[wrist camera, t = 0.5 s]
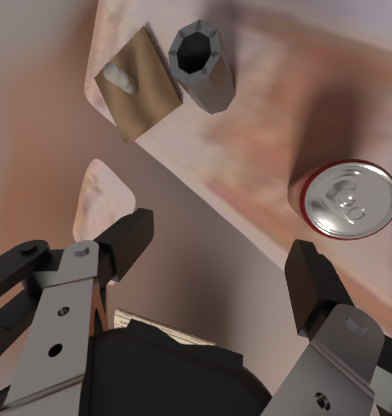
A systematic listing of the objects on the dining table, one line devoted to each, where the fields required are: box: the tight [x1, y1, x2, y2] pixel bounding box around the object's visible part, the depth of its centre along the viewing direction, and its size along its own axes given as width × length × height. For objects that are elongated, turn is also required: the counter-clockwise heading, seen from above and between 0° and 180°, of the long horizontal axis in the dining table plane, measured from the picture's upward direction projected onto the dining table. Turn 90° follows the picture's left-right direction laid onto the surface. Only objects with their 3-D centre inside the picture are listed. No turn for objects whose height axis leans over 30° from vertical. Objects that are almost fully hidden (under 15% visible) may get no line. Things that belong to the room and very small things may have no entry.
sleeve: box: [168, 20, 235, 114], centre depth 26 cm, size 6×6×10 cm
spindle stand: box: [94, 26, 183, 144], centre depth 32 cm, size 13×14×7 cm
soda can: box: [287, 159, 392, 241], centre depth 22 cm, size 7×7×12 cm
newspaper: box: [114, 308, 215, 346], centre depth 40 cm, size 24×7×2 cm, turn 87°
